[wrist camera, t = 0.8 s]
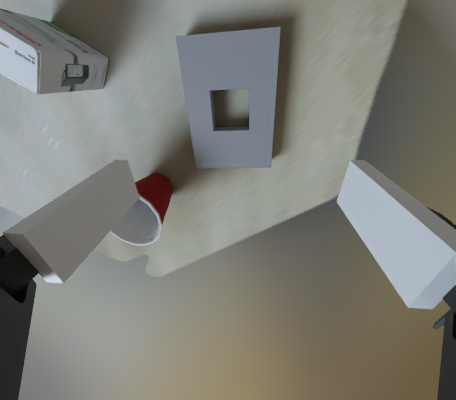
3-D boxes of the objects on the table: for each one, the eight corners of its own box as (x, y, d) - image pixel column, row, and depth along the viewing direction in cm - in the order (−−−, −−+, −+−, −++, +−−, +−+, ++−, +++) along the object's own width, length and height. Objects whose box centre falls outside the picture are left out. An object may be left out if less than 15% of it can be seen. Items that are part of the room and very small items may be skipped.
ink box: (48, 57, 30) (-52, 47, 20) (50, 19, 27) (-64, -13, 17) (103, 90, 32) (37, 96, 22) (110, 58, 29) (38, 48, 19)
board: (182, 40, 27) (175, 36, 25) (277, 31, 26) (280, 26, 23) (199, 162, 37) (196, 168, 34) (269, 161, 35) (271, 167, 33)
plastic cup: (140, 150, 37) (98, 178, 26) (191, 177, 39) (171, 213, 28) (127, 192, 42) (89, 229, 32) (173, 214, 44) (151, 255, 34)
